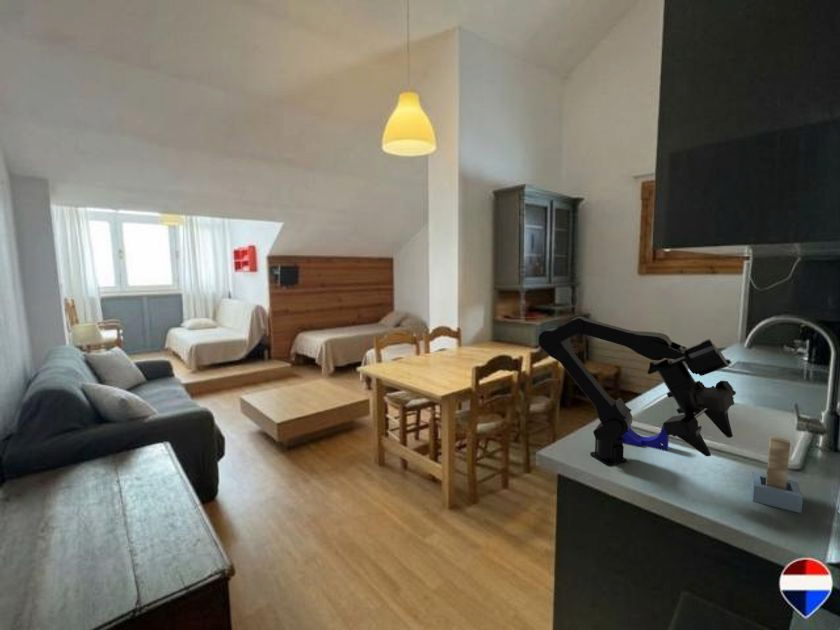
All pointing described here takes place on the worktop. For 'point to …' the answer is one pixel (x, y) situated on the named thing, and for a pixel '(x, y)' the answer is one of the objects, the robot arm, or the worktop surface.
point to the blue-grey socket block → (776, 493)
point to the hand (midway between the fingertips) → (719, 446)
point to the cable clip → (647, 439)
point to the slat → (778, 462)
